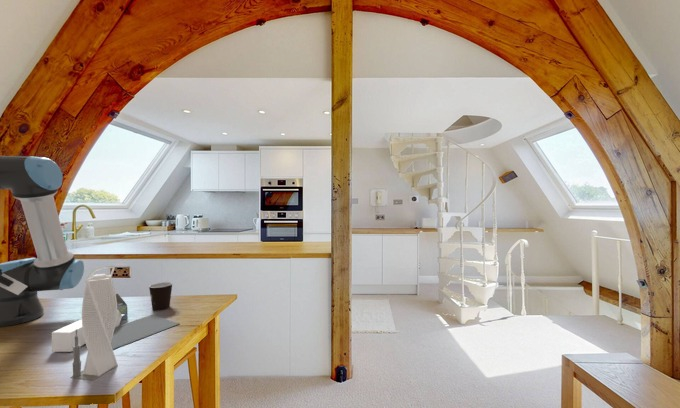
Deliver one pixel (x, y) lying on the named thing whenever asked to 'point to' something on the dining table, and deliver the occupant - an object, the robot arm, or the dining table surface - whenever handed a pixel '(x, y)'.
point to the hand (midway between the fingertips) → (21, 290)
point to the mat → (139, 330)
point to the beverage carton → (121, 307)
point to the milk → (72, 336)
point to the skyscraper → (97, 327)
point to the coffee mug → (160, 295)
